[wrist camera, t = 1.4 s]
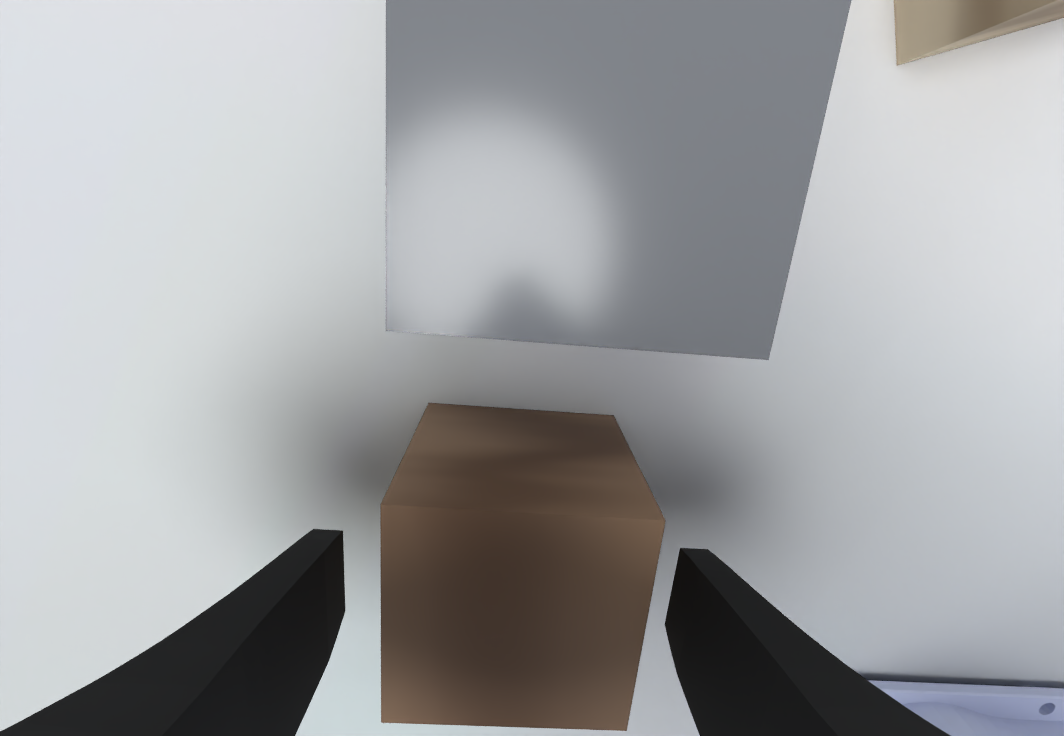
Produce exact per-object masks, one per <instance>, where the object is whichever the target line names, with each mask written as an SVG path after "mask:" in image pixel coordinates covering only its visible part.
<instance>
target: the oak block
mask: <svg viewBox="0 0 1064 736" xmlns="http://www.w3.org/2000/svg"><path fill="white" fill-rule="evenodd" d="M894 15H895V37H896V59H897V65H901V64H904V63H908V62H911V61H915V60H918V59H922V58H925V57H929V56H932V55H936V54H939V53H943V52H946V51H950V50H953V49H957V48H960V47H963V46H967V45H970V44H974V43H977V42H981V41H984V40H988V39H991V38H995V37H998V36H1002V35H1005V34H1009V33H1012V32H1016V31H1019V30H1023V29H1026V28H1030V27H1033V26H1037V25H1040V24H1043V23H1047V22H1050V21H1054V20H1057V19H1061V18H1064V0H894Z"/></svg>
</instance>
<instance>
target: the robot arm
mask: <svg viewBox="0 0 1064 736" xmlns="http://www.w3.org/2000/svg"><path fill="white" fill-rule="evenodd" d="M344 613H345V587H344V554H343V531H340V530H320V529H313V530H311V531H310V532H309V533H307V534H306V535H305V536H303V537H302V538H301V539H300V540H298V541H297V542H296V543H294V544H293V545H292V546H291V547H289V548H288V549H287V550H286V551H284V552H283V553H282V554H280V555H279V556H278V557H277V558H275V559H274V560H273V561H272V562H270V563H269V564H268V565H266V566H265V567H264V568H263V569H261V570H260V571H259V572H257V573H256V574H255V575H253V576H252V577H251V578H249V579H248V580H247V581H246V582H244V583H243V584H242V585H240V586H239V587H238V588H236V589H235V590H234V591H232V592H231V593H230V594H228V595H227V596H225V597H224V598H223V599H221V600H220V601H218V602H217V603H215V604H214V605H213V606H211V607H210V608H208V609H207V610H205V611H204V612H203V613H201V614H200V615H198V616H197V617H196V618H194V619H193V620H191V621H190V622H188V623H187V624H186V625H184V626H183V627H181V628H180V629H178V630H177V631H175V632H174V633H172V634H171V635H169V636H168V637H166V638H165V639H163V640H162V641H160V642H159V643H157V644H155V645H154V646H152V647H151V648H149V649H148V650H146V651H144V652H143V653H141V654H139V655H138V656H136V657H134V658H133V659H131V660H129V661H128V662H126V663H125V664H123V665H121V666H120V667H118V668H116V669H115V670H113V671H111V672H110V673H108V674H106V675H104V676H103V677H101V678H99V679H98V680H96V681H94V682H92V683H90V684H89V685H87V686H85V687H83V688H81V689H79V690H77V691H76V692H74V693H72V694H70V695H68V696H66V697H65V698H63V699H61V700H59V701H57V702H55V703H53V704H52V705H50V706H48V707H46V708H44V709H42V710H40V711H39V712H37V713H35V714H33V715H31V716H29V717H28V718H26V719H24V720H22V721H20V722H18V723H16V724H14V725H12V726H10V727H8V728H7V729H5V730H3V731H1V732H0V736H295V734H296V732H297V730H298V728H299V726H300V724H301V721H302V719H303V717H304V715H305V713H306V710H307V708H308V706H309V704H310V702H311V700H312V697H313V695H314V693H315V691H316V688H317V686H318V684H319V682H320V680H321V677H322V675H323V673H324V671H325V668H326V666H327V664H328V662H329V659H330V656H331V653H332V650H333V647H334V644H335V641H336V638H337V635H338V632H339V629H340V625H341V622H342V619H343V616H344ZM665 627H666V631H667V636H668V640H669V644H670V649H671V653H672V657H673V660H674V664H675V668H676V672H677V675H678V678H679V681H680V683H681V686H682V689H683V692H684V694H685V697H686V700H687V703H688V705H689V708H690V711H691V713H692V716H693V719H694V721H695V724H696V727H697V729H698V732H699V735H700V736H1064V688H1042V687H1017V686H993V685H969V684H944V683H920V682H896V681H871V680H866V679H865V678H863V677H862V676H861V675H859V674H858V673H857V672H855V671H854V670H852V669H851V668H850V667H848V666H847V665H846V664H844V663H843V662H842V661H840V660H839V659H838V658H837V657H835V656H834V655H833V654H831V653H830V652H829V651H828V650H826V649H825V648H824V647H823V646H821V645H820V644H819V643H817V642H816V641H815V640H814V639H812V638H811V637H810V636H809V635H807V634H806V633H805V632H804V631H802V630H801V629H800V628H799V627H798V626H796V625H795V624H794V623H793V622H792V621H790V620H789V619H788V618H787V617H786V616H784V615H783V614H782V613H781V612H780V611H779V610H777V609H776V608H775V607H774V606H773V605H772V604H770V603H769V602H768V601H767V600H766V599H765V598H763V597H762V596H761V595H760V594H759V593H758V592H757V591H755V590H754V589H753V588H752V587H751V586H750V585H749V584H748V583H746V582H745V581H744V580H743V579H742V578H741V577H740V576H738V575H737V574H736V573H735V572H734V571H733V570H732V569H731V568H729V567H728V566H727V565H726V564H725V563H724V562H722V561H721V560H720V559H719V558H718V557H717V556H715V555H714V554H713V553H712V552H710V551H709V550H708V549H690V548H680V551H679V556H678V561H677V566H676V571H675V576H674V581H673V586H672V591H671V596H670V601H669V606H668V611H667V616H666V621H665Z"/></svg>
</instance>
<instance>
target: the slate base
mask: <svg viewBox="0 0 1064 736" xmlns="http://www.w3.org/2000/svg"><path fill="white" fill-rule="evenodd" d="M850 4H851V0H386V331H394V332H407V333H420V334H433V335H447V336H460V337H473V338H486V339H499V340H513V341H526V342H539V343H552V344H565V345H579V346H592V347H605V348H618V349H631V350H645V351H658V352H671V353H684V354H697V355H711V356H724V357H737V358H750V359H763V360H769V355H770V351H771V347H772V342H773V338H774V334H775V329H776V325H777V321H778V316H779V312H780V308H781V303H782V299H783V295H784V290H785V286H786V282H787V277H788V273H789V269H790V264H791V260H792V256H793V251H794V247H795V243H796V238H797V234H798V230H799V225H800V221H801V217H802V212H803V208H804V204H805V199H806V195H807V191H808V186H809V182H810V178H811V173H812V169H813V165H814V160H815V156H816V152H817V147H818V143H819V139H820V134H821V130H822V126H823V121H824V117H825V113H826V108H827V104H828V99H829V95H830V91H831V86H832V82H833V78H834V73H835V69H836V65H837V60H838V56H839V52H840V47H841V43H842V39H843V34H844V30H845V26H846V21H847V17H848V13H849V8H850Z"/></svg>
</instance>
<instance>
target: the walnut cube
mask: <svg viewBox="0 0 1064 736" xmlns="http://www.w3.org/2000/svg"><path fill="white" fill-rule="evenodd" d="M665 521H666V520H665V518H664V516H663V514H662V512H661V510H660V508H659V506H658V504H657V502H656V500H655V498H654V496H653V494H652V492H651V490H650V488H649V486H648V484H647V482H646V480H645V478H644V476H643V474H642V472H641V470H640V468H639V466H638V464H637V462H636V460H635V458H634V456H633V454H632V452H631V450H630V448H629V446H628V444H627V442H626V440H625V438H624V436H623V434H622V432H621V429H620V427H619V425H618V423H617V421H616V419H615V417H614V415H599V414H585V413H570V412H555V411H541V410H526V409H511V408H497V407H482V406H467V405H452V404H438V403H428V406H427V408H426V410H425V412H424V414H423V416H422V418H421V420H420V422H419V425H418V427H417V429H416V431H415V433H414V435H413V437H412V439H411V441H410V444H409V446H408V448H407V450H406V452H405V454H404V456H403V458H402V460H401V462H400V465H399V467H398V469H397V471H396V473H395V475H394V477H393V479H392V481H391V484H390V486H389V488H388V490H387V492H386V494H385V496H384V498H383V500H382V503H381V723H410V724H440V725H470V726H500V727H530V728H560V729H590V730H620V731H627V726H628V720H629V715H630V709H631V704H632V699H633V693H634V688H635V682H636V677H637V672H638V666H639V661H640V656H641V650H642V645H643V639H644V634H645V629H646V623H647V618H648V612H649V607H650V602H651V596H652V591H653V586H654V580H655V575H656V569H657V564H658V559H659V553H660V548H661V542H662V537H663V532H664V526H665Z"/></svg>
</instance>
